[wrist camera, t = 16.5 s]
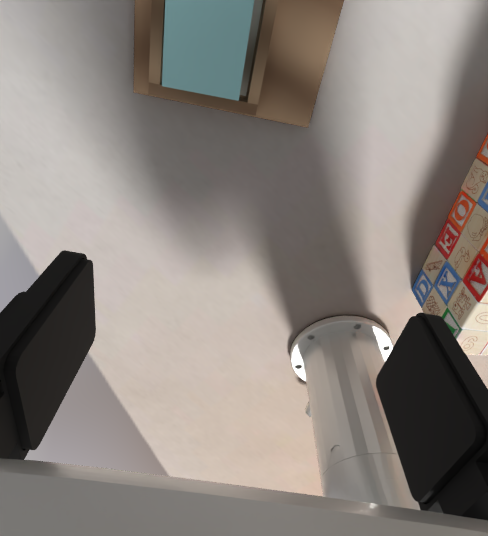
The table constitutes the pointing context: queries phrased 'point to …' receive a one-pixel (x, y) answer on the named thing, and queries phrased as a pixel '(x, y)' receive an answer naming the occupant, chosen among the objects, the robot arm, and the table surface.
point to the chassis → (252, 58)
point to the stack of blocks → (461, 264)
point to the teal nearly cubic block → (206, 45)
